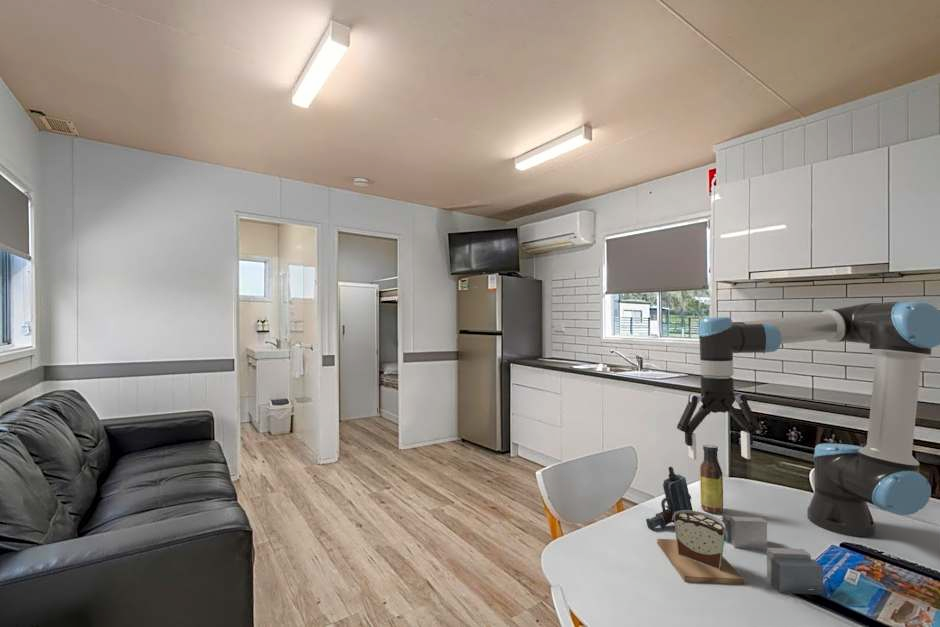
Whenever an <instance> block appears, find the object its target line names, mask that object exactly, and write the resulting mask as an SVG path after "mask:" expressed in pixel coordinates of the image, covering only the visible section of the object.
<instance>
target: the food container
mask: <svg viewBox="0 0 940 627" xmlns="http://www.w3.org/2000/svg"><path fill="white" fill-rule="evenodd" d="M720 519H721V518H718V517H716V516H714V515H712V514H709V513H707V512H706V513H705V512H703V511H698V510H693V511H691V510H682V511H677V512H675V513H674V515H673V517H672V521H673V520H674V521H675V523H674V529H675V539H676V541H677V551H678V555H680V556H682V557H685V558H688V559H690V560H693V561H695V562H698V563H701V564H703V565H706V566H709V567H711V568H714V569H717V570H719V571H720V569H721V563H722V556H723V554H724V553H723V552H724V544H725V539H724V537H725V535H726V538H727V537H728V533H727V529H726V526H725V524H724V522H722V521H721V520H720Z"/></svg>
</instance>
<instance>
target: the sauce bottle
mask: <svg viewBox="0 0 940 627" xmlns="http://www.w3.org/2000/svg"><path fill="white" fill-rule="evenodd" d="M702 446H703V447H702V449H703V461H702V463H701V464H700V467H699V469H700V470H699V472H700V473H699V474H700V475H699V480H700V481H699V484H700V485H699V488H700V504H701V505H700V508H701V509H702V510H703V511H705V512H706V513H711V514H721V513H723V511H724V481H723V480H724V479H723V477H724V476H723V475H724V474H723V471H722V468H721V465H720V463H719V459H718V452H719V449H718V448H719V447H718V446H717V445H713V444H703V445H702Z"/></svg>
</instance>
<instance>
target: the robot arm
mask: <svg viewBox="0 0 940 627" xmlns="http://www.w3.org/2000/svg"><path fill="white" fill-rule="evenodd" d="M698 328H699V329H698V338H699V339H698V340H699V356H700V361H699V365H700V367H699V368H700V375H702V376H700V391H701V392H700V395H694V394H691V393H690V394H689V395H688V401H687V402H688V403H687V404H686V406H685V409H684V410H683V413H682V415H681V417H680V420H679V421H678V423H677V425H676V429H677V430H679V431H681V432H683V433H684V444H685V445H687V446H688V457H689V458H691V459H692V460H694V461H695V460H697V434H696V433H694V432H695V430H696V429H697V428H698V427H699V425H700V424H701V423H702V422H703V420H705V418H706V417H707V416H708V415H710V414H711V413H715V414H716V413H728V414H729V415H730V416H731V417H732V418H733V420H734V421H735V422H736V423H737V424H738V425H739V426H740V427H741V428H742V430H741V431H740V447H741V448H740V450H741V451H740V452H741V457H742V458H744V459H747V460H751V446H753V444H754V435H755V434H756V431H759V432H760V430H762V427H761V426H760V424H759V421H758V420H757V418H756V416H755V415H754V413H753V411H752V408H751V407H750V406H749V404H748V398H747V395H746V394H741V393H737V394H736V395H735V394H734V391H735V383H734V378H733V377H732V376H734V360H733V359H734V354H739V353H740V354H741V353H743V354H748V353H749V354H752V353H754V354H755V353H762V354H765V353H774V352H776V351H777V350H778V349H780V347H781V345H785V344H793V343H794V344H795V343H803V342H804V343H805V342H815V341H816V342H817V341H827V342H828V343H840V342H841V343H842V342H843V343H858V344H865V345H869V346H868V347H869V348H868V350H869V351H870V352H871V353H872V354H873V355H874V357H875V363H874V371H873V381H872V382H873V383H872V391H871V400H870V401H871V402H870V410H869V421H868V429H867V438H866V445H865V446H860V445H853V444H845V443H819V444H817V445H815V448H814V454H813V466H814V467H813V472H814V473H813V474H814V492H813V496H812V497H811V500H810V503H809V506H808V507H807V509H806V510H807V513H806V514H807V519H808V521H810V522H811V523H813V524H814V525H816V526H817V527H821V528H823V529H825V530H827V531H831V532H834V533H837V534H838V533H839V534H841V535H848V536H853V537H871V536H873V535H875V534H876V524H875V521H874V518H873V516H872V513H871V511H870V508H869V506H868V503H869V504H871V505H873V506H875V507H876V508H878V509H880V510H882V511H886V512H889V513H892V514H894V515H900V516H910V515H913V514H915V513H918V512H919V511H920V510H923V508H925V507H926V505H927V504H928V503H929V501H930V498H931V497H932V496H931V495H932V488H931V487H932V486H931V484H930V482H929V481H928V479H927V478H926V477H925V476H924V475H922V474H921V473H920V462H919V461H918V460H917V459H916V458H915V457H914V456H913V445H914V436H915V427H916V426H915V425H916V418H917V410H918V409H917V407H918V397H919V389H920V378H921V369H922V362H923V361H925V360H926V359H928V358H929V357H931V354H932V349H933V348H935V347H939V345H940V310H939V309H938V308H937V307H936V306H934V305H932V304H930V303H927V302H924V301H909V300H907V301H905V300H902V301H890V302H889V301H888V302H866V303H860V304H856V305H851V306H845V307H839V308H834V309H825V310H823V311H822V312H820V313H816V314H808V315H798V316H797V315H796V316H788V317H777V318H769V319H768V318H766V319H758V320H756V319H755V320H749V321H748V320H747V321H741V322H733V321H732V318H731V317H726V316H724V317H703V318H700V320H699V327H698ZM700 402H701V403H702V405H701V406H700V407H699V408H698V410H697V412H696V413H695V411H696V409H697V406H698V405H699V404H700ZM735 402H736V403H737V405H738V406H739V408H740V410H741V412H742V414H743V415H744V417H743V416H742V415H741V414H740V413H739V412H738V410H737V409H736V408H735V407H734V406H733V404H734V403H735ZM694 413H695V414H694ZM744 418H745V419H746V420H745V419H744Z"/></svg>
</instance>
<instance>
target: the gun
mask: <svg viewBox="0 0 940 627" xmlns="http://www.w3.org/2000/svg"><path fill="white" fill-rule="evenodd" d="M668 473H669V474H668V478H667V479H664V480H663V483H662V488H663V491H664V496H665V497H664V498H663V499H662V500H661V503H660V506H661V510H662V511H661V512H659V513H655V516H653V517H651V518H649V517H647V518H646V519H645V521H646V525H647V528H648V529H649V530H651V531H652V530H654V529H655V528H657V527H659V526H660V527H662V528H665V527H667V525H669V524H671V523H673V524H675V521H674V520H673V521H672V517H673V515H674V513H675V512H677V511H682V510H691V511H694V510H693V505H692V502H691V499H692V496H691V494H690V493H689V488H688V483H687V479H686V477H685V476H683V475H681V474H680V473H677V474H676V473H675V471H674V467H673V466H669V467H668ZM665 504H666V505H665Z"/></svg>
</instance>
